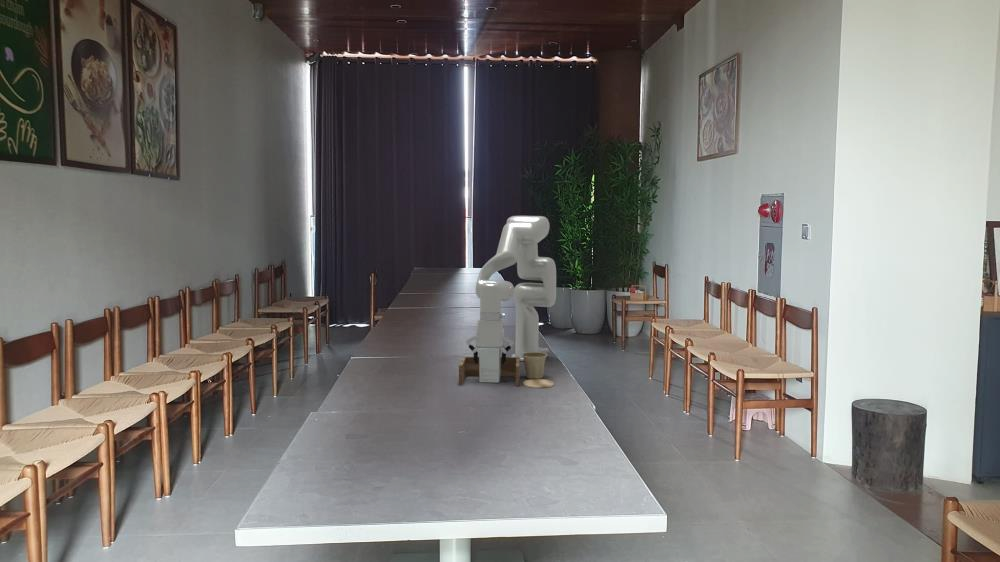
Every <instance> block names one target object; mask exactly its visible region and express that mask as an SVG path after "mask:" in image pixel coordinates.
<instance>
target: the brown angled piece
mask: <svg viewBox="0 0 1000 562" xmlns="http://www.w3.org/2000/svg"><path fill="white" fill-rule="evenodd" d="M520 363H521V361H520V357H512V356H509V357H507V356H506V362H504V364H502V356H501V377H515V387H520V371H521V370H520V367H521V365H520ZM467 376H469V377H472V376H473V377H479V356H478V363H477V364H475V361H474V356H462V357H461V359H460V362H459V365H458V385H459V386H463V384H464V382H465V378H466V377H467Z"/></svg>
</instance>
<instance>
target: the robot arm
mask: <svg viewBox="0 0 1000 562" xmlns="http://www.w3.org/2000/svg"><path fill="white" fill-rule="evenodd" d="M549 231H550V222H549V219H548V218H547V217H546V216H542V215H512V216H510V217H508V218H507V220H506V223H505V224H504V226H503V228H502V231H501V233H500V235H501V236H500V238H499V242H498V246H497V250H496V254H495V255H494V256H492V257H491V258H490V259H488V261H487V262H486V263H484V265H483V266H482V268H481V269H480V270H479V272H478V277H477V280H476V285H475V294H476V297H477V298H478V299H479V319H477V323H476V335H473V336H471V337H470V338H468V339H466V341H465V342H466V345H467V346H468V348H469V349H470V350H471V352H473V357H474V361H475V364H477V363H478V357H479V348H500V351H502V353H501V357H502V364H504V362H506V357H507V353H508V352H509V351H510V350H511V348H512V347H513V345H514V343H515V350H514V351H515V353H512V354H511V357H520V362H524V359H523V356H522V354H523V353H527V352H541V353H546V354H547V353H549V351H550V350H549V348H548V347H544V348H543V347H540V346H539V329H540V328H539V326H540V325H539V323H540V321H539V313H538V311H537V310H536V308H535V307H541V308H542V307H543V308H551V307H553V306H554V305H555V303H556V300H557V267H556V263H555V260H554V259H553V258H552V257H548V256H547V257H546V256H539V254H538V253H539V251H538V243H540V242H541V241H542V240H544V239H545V238H546V237H547V236H548V235H549ZM513 265H516V269H517V271H516V273H517V276H518V277H519V278H520V279H522V280H529V281H541V282H543V283H540V282H539V283H536V282H520V283H518V284H516V285H515V286H514V285H513V283H512V282H510V281H507V280H498V279H490V278H491V277H492V276H493V275H494V274H495V273H497V272H499V271H501V270H504V269H506V268H508V267H511V266H513ZM512 298H513V299H514V306H515V341H514V340H513V339H511V338H509V337H507V336H505V329H504V328H505V327H504V321H503V320H502V319H503V318H505V313H502V311H501V310H502V309H501V307H502V306H501V305H502V302H508V301H510V300H511V299H512ZM473 341H475V346H474V345H473V344H472V342H473ZM505 342H506V343H508V345H507V346H506V347H505V346H504V344H505Z"/></svg>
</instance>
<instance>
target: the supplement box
mask: <svg viewBox="0 0 1000 562" xmlns="http://www.w3.org/2000/svg"><path fill="white" fill-rule="evenodd" d="M478 357H479V376H478V377H479V379H478V381H479V383H494V384H495V383H498V384H499V383H500V381H501V378H502V376H501V357H502V354H501V349H500V348H479V349H478Z"/></svg>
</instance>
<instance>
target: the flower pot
mask: <svg viewBox="0 0 1000 562" xmlns="http://www.w3.org/2000/svg"><path fill="white" fill-rule="evenodd" d="M522 356H523V359H524V361H523V362H524V368H525V377H526V378H527V379H529V380H530V379H543V377H544V371H545V366H546V365H545V363H546V361H547V357H548V354H547V352H546V353H541V352H527V353H523V354H522Z"/></svg>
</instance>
